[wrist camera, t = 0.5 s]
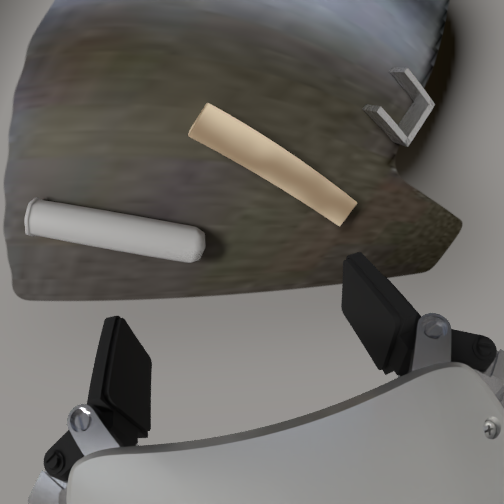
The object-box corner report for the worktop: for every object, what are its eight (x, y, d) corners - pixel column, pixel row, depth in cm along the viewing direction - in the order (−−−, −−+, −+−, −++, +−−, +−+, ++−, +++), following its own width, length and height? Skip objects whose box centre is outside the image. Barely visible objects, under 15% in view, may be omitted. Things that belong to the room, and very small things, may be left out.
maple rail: (206, 102, 28) (208, 103, 24) (340, 189, 38) (357, 202, 34) (189, 131, 30) (187, 136, 26) (324, 211, 39) (339, 226, 35)
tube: (212, 230, 33) (26, 198, 25) (204, 272, 34) (22, 239, 26) (206, 224, 38) (43, 196, 30) (199, 261, 39) (39, 232, 31)
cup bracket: (391, 67, 28) (407, 67, 26) (419, 101, 32) (435, 104, 29) (362, 109, 32) (376, 111, 29) (393, 141, 35) (407, 147, 32)
